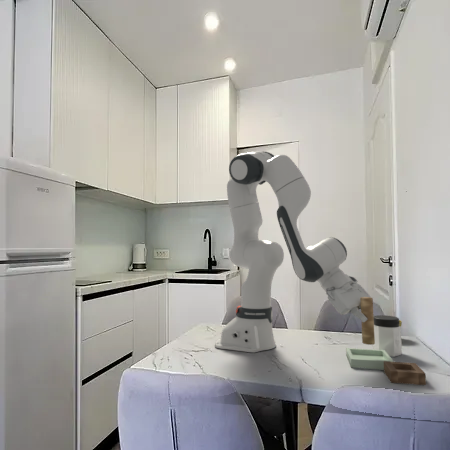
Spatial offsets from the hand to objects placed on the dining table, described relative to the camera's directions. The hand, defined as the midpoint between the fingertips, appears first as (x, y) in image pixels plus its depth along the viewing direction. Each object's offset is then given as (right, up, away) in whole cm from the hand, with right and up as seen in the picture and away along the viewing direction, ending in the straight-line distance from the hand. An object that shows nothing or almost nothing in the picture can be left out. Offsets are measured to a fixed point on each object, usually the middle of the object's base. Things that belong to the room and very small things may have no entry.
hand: (369, 319), depth 108 cm
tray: (0, -14, 0) cm, 13 cm away
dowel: (0, -7, 0) cm, 7 cm away
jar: (+10, -14, +10) cm, 20 cm away
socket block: (+4, -13, -13) cm, 19 cm away
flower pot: (+20, -16, +29) cm, 39 cm away
